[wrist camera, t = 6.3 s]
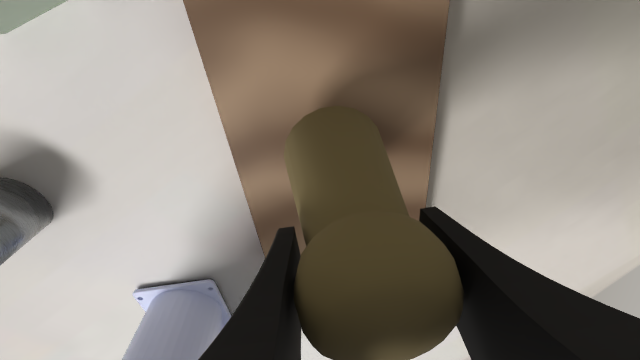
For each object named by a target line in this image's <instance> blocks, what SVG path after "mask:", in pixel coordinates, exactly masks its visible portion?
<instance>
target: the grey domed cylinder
mask: <svg viewBox="0 0 640 360" xmlns="http://www.w3.org/2000/svg"><path fill="white" fill-rule="evenodd" d="M52 218H53V210H52V207H51V205H50V204H49V202H48V201H47V200H46V199H45V197H44V196H42V195H41V194H40V193H39V192H38V191H36V190H35V189H33V188H32V187H30V186H28V185H26V184H24V183H21V182H19V181H16V180H12V179H8V178H1V177H0V265H1V264H2V263H4V262H5V261H6V260H7V259H8V258H9V257H11V256H12V255H13V254H14V253H15V252H17V251H18V250H19V249H20V248H21V247H22V246H24V245H25V244H26V243H27V242H28V241H29V240H31V239H32V238H33V237H34V236H35V235H36V234H38V233H39V232H40V231H41V230H42V229H44V228H45V227H46V226H47V225H48V224H49V223H50V222H51V221H52Z"/></svg>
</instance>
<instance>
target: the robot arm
mask: <svg viewBox="0 0 640 360" xmlns="http://www.w3.org/2000/svg"><path fill="white" fill-rule="evenodd" d="M419 221H420V222H421V223H422V224H423V225H425V226H426V227H427V228H428V229H429V230H430V231H432V232H433V233H434V234H435V235H436V236H437V237H438V238H439V239H440V240H441V241H442V242H443V244H444V245H445V246H446V248H447V249H448V250H449V252H450V253H451V255H452V256H453V258H454V260H455V263H456V266H457V269H458V272H459V275H460V279H461V283H462V286H463V290H464V296H463V310H462V313H461V317H460V320H459V322H458V324H457V325H456V326H457V328H458V330H459V332H460V334H461V337H462V339H463V341H464V343H465V346H466V348H467V350H468V353H469V355H470V357H471V360H640V319H639V318H637V317H634V316H632V315H629V314H627V313H624V312H622V311H620V310H617V309H615V308H612V307H610V306H607V305H605V304H603V303H601V302H598V301H596V300H594V299H591V298H589V297H587V296H585V295H582V294H580V293H578V292H576V291H574V290H572V289H570V288H567V287H565V286H563V285H561V284H559V283H557V282H555V281H553V280H551V279H549V278H547V277H545V276H543V275H541V274H539V273H538V272H536V271H534V270H532V269H530V268H528V267H526V266H525V265H523V264H521V263H519V262H517V261H516V260H514V259H512V258H511V257H509V256H507V255H506V254H504V253H502V252H501V251H499V250H498V249H496V248H494V247H493V246H491V245H490V244H488V243H487V242H485V241H484V240H482V239H481V238H479V237H478V236H476V235H475V234H473V233H472V232H470V231H469V230H467V229H466V228H465V227H463V226H462V225H460V224H459V223H458V222H456V221H455V220H453V219H452V218H451V217H449V216H448V215H446V214H445V213H444V212H442V211H441V210H439V209H438V208H437V207H429V208H422V209H420V217H419ZM300 257H301V255H300V250H299V246H298V241H297V237H296V232H295V228H294V226H292V227H285V228H279V229H278V230H277V233H276V235H275V238H274V240H273V243H272V245H271V247H270V250H269V252H268V254H267V256H266V258H265V260H264V262H263V264H262V266H261V268H260V270H259V272H258V274H257V276H256V278H255V279H254V281H253V283H252V285H251V286H250V288H249V290H248V292H247V293H246V295H245V297H244V298H243V300H242V301H241V303H240V304H239V306H238V308H237V309H236V310H235V312H234V313H233V315H232V316H231V314H230V312H229V310H228V308H227V306H226V304H225V302H224V300H223V298H222V296H221V294H220V292H219V290H218V288H217V286H216V284H215V282H214V281H213V280H210V279H208V280H201V281H194V282H186V283H179V284H172V285H165V286H157V287H150V288H143V289H137V290H135V291H134V292H133V296H134V298H135V299H136V300H137V302H138V303H139V304H140V305H141V307H142V308H143V309H144V311H145V312H146V313H145V315H144V317H143V319H142V321H141V323H140V325H139V327H138V329H137V331H136V332H135V334H134V336H133V338H132V340H131V342H130V344H129V346H128V348H127V350H126V352H125V354H124V356H123V358H122V360H301V324H300V321H299V317H298V314H297V311H296V307H295V304H294V281H295V277H296V273H297V268H298V264H299V261H300Z"/></svg>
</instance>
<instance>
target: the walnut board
mask: <svg viewBox="0 0 640 360" xmlns="http://www.w3.org/2000/svg"><path fill="white" fill-rule="evenodd" d="M449 1H450V0H183V2H184V5H185V8H186V11H187V15H188V18H189V21H190V24H191V27H192V30H193V33H194V36H195V40H196V43H197V46H198V49H199V52H200V55H201V58H202V62H203V65H204V68H205V71H206V74H207V77H208V80H209V83H210V87H211V90H212V93H213V96H214V99H215V102H216V105H217V108H218V112H219V115H220V118H221V121H222V124H223V127H224V130H225V134H226V137H227V140H228V143H229V146H230V149H231V152H232V155H233V159H234V162H235V165H236V168H237V171H238V174H239V177H240V181H241V184H242V187H243V190H244V193H245V196H246V199H247V202H248V206H249V209H250V212H251V215H252V218H253V221H254V224H255V228H256V231H257V234H258V237H259V240H260V243H261V246H262V249H263V253H264V256H265V258H266V256H267V254H268V252H269V250H270V247H271V245H272V243H273V240H274V238H275V235H276V233H277V230H278V229H279V228H285V227H292V226H294V228H295V232H296V237H297V241H298V246H299V250H300V255H301V254H302V252H303V251H304V249H305V248H306V244H305V240H304V236H303V232H302V228H301V224H300V220H299V216H298V212H297V208H296V204H295V200H294V196H293V192H292V188H291V184H290V180H289V177H288V173H287V169H286V164H285V159H284V149H285V142H286V139H287V137H288V136H289V134H290V132H291V130H292V128H293V127H294V126H295V125H296V124H297V123H298V122H299V121H300V120H301V119H302V118H303V117H304V116H305V115H307V114H309V113H311V112H314V111H316V110H318V109H320V108H325V107H331V106H343V107H349V108H354V109H356V110H358V111H360V112H362V113H363V114H365V115H367V116H368V117H369V118H370V119H371V120H372V121H373V123H374V124H375V125H376V126H377V127H378V130H379V133H380V136H381V138H382V141H383V144H384V147H385V149H386V152H387V155H388V158H389V161H390V163H391V166H392V169H393V172H394V175H395V177H396V180H397V183H398V186H399V188H400V191H401V194H402V197H403V200H404V202H405V205H406V208H407V211H408V214H409V216H410V217H411V218H413V219H415V220H418V221H419V217H420V209H422V208H426V199H427V191H428V182H429V173H430V165H431V156H432V148H433V139H434V130H435V122H436V113H437V105H438V96H439V87H440V79H441V70H442V61H443V53H444V44H445V36H446V27H447V18H448V10H449Z"/></svg>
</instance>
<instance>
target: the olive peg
mask: <svg viewBox="0 0 640 360" xmlns="http://www.w3.org/2000/svg"><path fill="white" fill-rule="evenodd" d="M284 159H285V164H286V169H287V173H288V177H289V180H290V184H291V188H292V192H293V196H294V200H295V204H296V208H297V212H298V216H299V220H300V224H301V228H302V232H303V236H304V240H305V244H306V248H305V249H304V251H303V252H302V254H301V257H300V261H299V264H298V268H297V273H296V277H295V281H294V304H295V307H296V311H297V314H298V317H299V321H300V324H301V328H302V331H303V333H304V334H305V336H306V337H307V339H308V340H309V342H310V343H311V344H312V346H313V347H314V348H315V349H316V350H317V351H318V352H319V353H321V354H322V355H323V356H325V357H327V358H330V359H332V360H410V359H413V358H415V357H417V356H419V355H422V354H424V353H426V352H428V351H430V350H431V349H433V348H434V347H435V346H437V345H438V344H440V343H441V342H442V341H444V339H445V338H446V337H447V336H448V334H449V333H450V332H451V331H452V330H453V328H454V327H455V326H456V325H457V324H458V322H459V320H460V317H461V313H462V310H463V296H464V290H463V286H462V283H461V279H460V275H459V272H458V269H457V266H456V263H455V260H454V258H453V256H452V255H451V253H450V252H449V250H448V249H447V248H446V246H445V245H444V244H443V242H442V241H441V240H440V239H439V238H438V237H437V236H436V235H435V234H434V233H433V232H432V231H430V230H429V229H428V228H427V227H426V226H425V225H423V224H422V223H421V222H420V221H418V220H415V219H413V218H411V217H410V216H409V214H408V211H407V208H406V205H405V202H404V200H403V197H402V194H401V191H400V188H399V186H398V183H397V180H396V177H395V175H394V172H393V169H392V166H391V163H390V161H389V158H388V155H387V152H386V149H385V147H384V144H383V141H382V138H381V136H380V133H379V130H378V127H377V126H376V125H375V124H374V123H373V121H372V120H371V119H370V118H369V117H368V116H367V115H365V114H363V113H362V112H360V111H358V110H356V109H354V108H349V107H343V106H331V107H325V108H320V109H318V110H316V111H314V112H311V113H309V114H307V115H305V116H304V117H303V118H302V119H301V120H300V121H299V122H298V123H297V124H296V125H295V126H294V127H293V128H292V130H291V132H290V134H289V136H288V137H287V139H286V142H285V149H284Z"/></svg>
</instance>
